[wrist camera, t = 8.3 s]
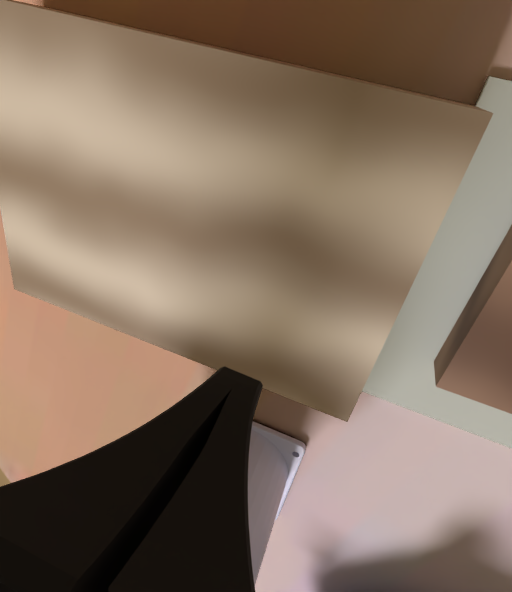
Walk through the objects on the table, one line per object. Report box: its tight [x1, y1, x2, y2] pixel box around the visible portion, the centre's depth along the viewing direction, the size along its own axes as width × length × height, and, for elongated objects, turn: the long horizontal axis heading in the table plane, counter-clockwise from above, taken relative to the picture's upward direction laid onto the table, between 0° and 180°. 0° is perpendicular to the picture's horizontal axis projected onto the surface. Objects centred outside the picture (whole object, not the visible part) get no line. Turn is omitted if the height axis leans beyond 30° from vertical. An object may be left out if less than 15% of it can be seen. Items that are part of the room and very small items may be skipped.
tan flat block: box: [0, 0, 493, 422], centre depth 19 cm, size 14×20×4 cm
